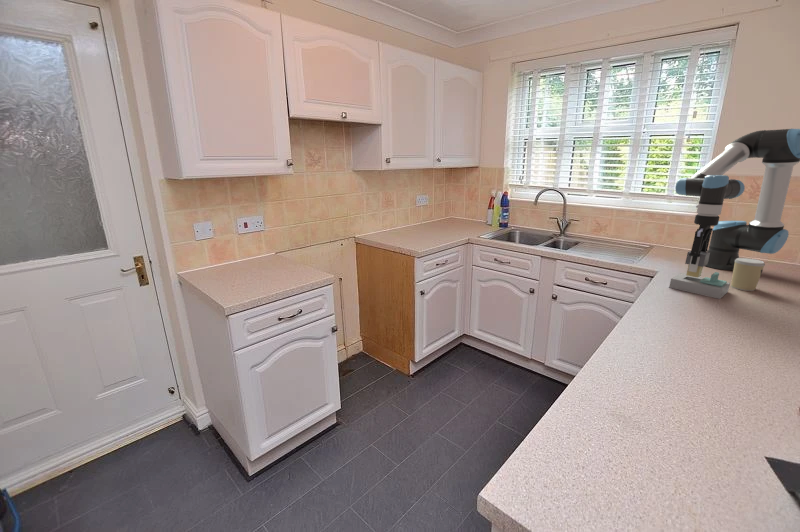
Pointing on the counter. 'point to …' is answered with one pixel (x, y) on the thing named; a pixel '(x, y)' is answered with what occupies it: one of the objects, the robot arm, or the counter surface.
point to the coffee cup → (746, 273)
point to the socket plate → (698, 286)
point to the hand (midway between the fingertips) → (694, 269)
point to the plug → (702, 262)
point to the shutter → (713, 280)
